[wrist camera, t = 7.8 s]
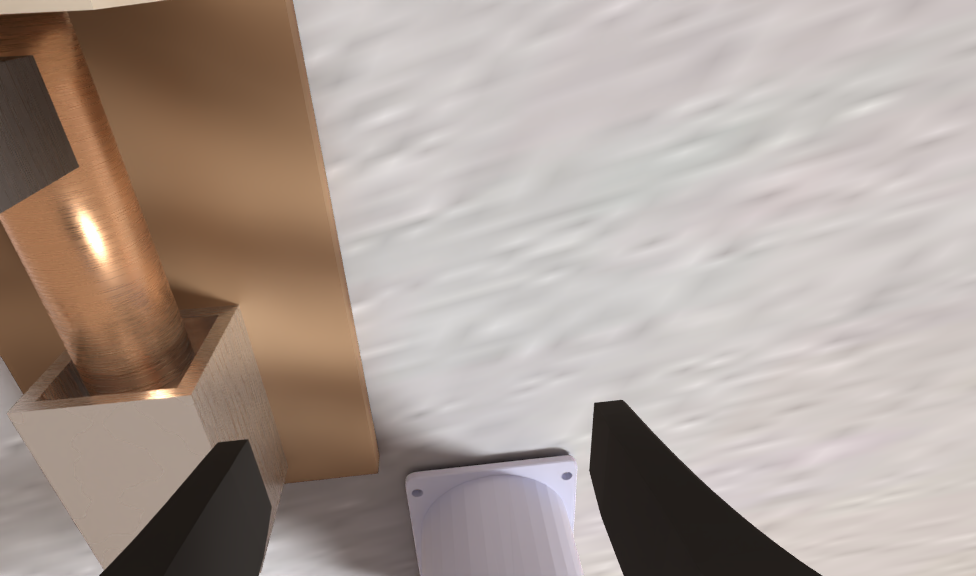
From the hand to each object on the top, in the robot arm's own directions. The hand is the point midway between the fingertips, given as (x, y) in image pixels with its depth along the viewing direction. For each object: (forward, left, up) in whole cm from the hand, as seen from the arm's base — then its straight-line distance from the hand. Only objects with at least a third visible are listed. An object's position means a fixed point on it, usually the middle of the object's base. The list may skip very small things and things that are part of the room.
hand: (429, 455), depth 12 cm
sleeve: (-5, +9, -10) cm, 14 cm away
